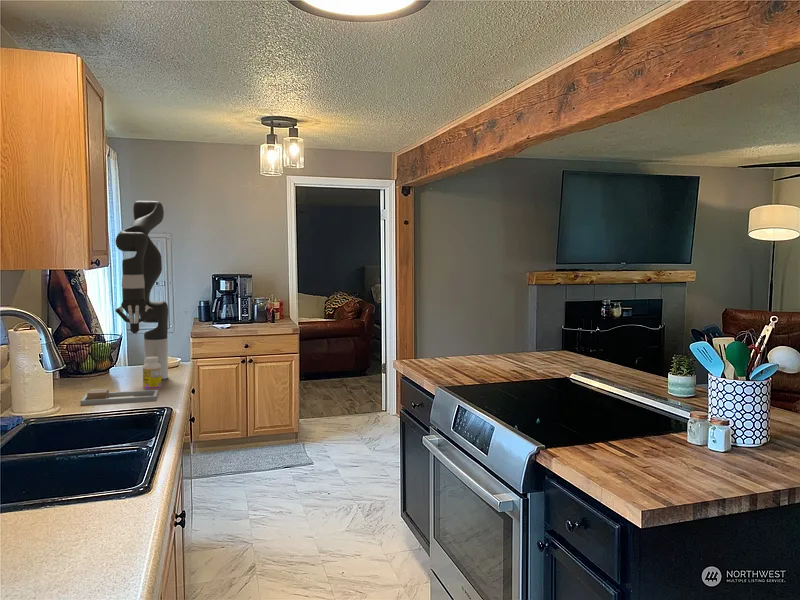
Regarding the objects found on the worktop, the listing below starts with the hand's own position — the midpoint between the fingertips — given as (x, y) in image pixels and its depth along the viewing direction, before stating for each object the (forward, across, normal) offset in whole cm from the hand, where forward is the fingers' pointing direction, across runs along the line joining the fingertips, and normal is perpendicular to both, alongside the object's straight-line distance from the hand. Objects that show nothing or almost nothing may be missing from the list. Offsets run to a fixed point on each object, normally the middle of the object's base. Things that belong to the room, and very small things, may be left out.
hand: (134, 333), depth 217 cm
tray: (+24, +4, +8) cm, 25 cm away
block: (+22, +12, +9) cm, 27 cm away
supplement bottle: (+24, -5, -10) cm, 27 cm away
